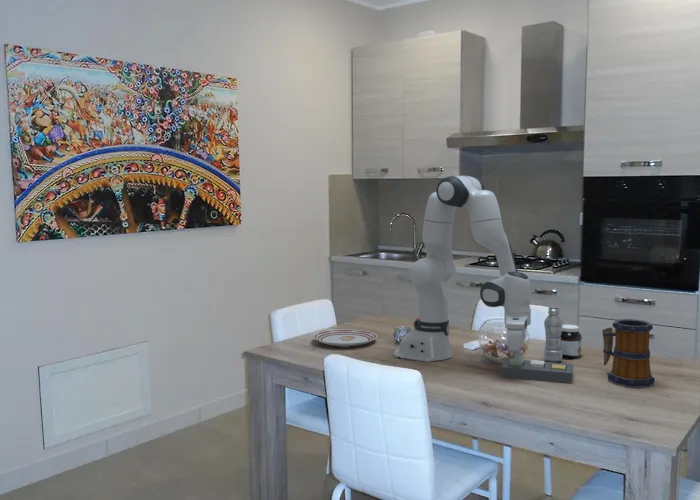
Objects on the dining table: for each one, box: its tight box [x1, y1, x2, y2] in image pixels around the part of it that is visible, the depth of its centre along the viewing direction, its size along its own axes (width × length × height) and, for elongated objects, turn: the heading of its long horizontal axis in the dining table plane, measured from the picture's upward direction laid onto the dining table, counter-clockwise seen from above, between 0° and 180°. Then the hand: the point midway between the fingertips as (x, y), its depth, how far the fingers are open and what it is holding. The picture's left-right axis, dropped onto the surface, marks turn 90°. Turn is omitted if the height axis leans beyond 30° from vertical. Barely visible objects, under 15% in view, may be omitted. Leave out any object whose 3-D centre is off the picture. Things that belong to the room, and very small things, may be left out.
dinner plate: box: [312, 328, 378, 348], centre depth 268 cm, size 27×27×3 cm
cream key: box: [530, 359, 546, 368], centre depth 217 cm, size 4×4×2 cm
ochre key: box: [552, 364, 566, 370], centre depth 214 cm, size 4×4×2 cm
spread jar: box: [561, 324, 583, 360], centre depth 242 cm, size 12×11×12 cm
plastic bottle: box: [543, 307, 564, 363], centre depth 233 cm, size 6×7×20 cm
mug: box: [602, 318, 656, 390], centre depth 210 cm, size 19×14×20 cm
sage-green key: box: [509, 357, 525, 366], centre depth 219 cm, size 4×4×2 cm
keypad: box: [500, 358, 574, 384], centre depth 217 cm, size 23×11×4 cm, turn 69°
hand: (517, 357), depth 219 cm, fingers closed
